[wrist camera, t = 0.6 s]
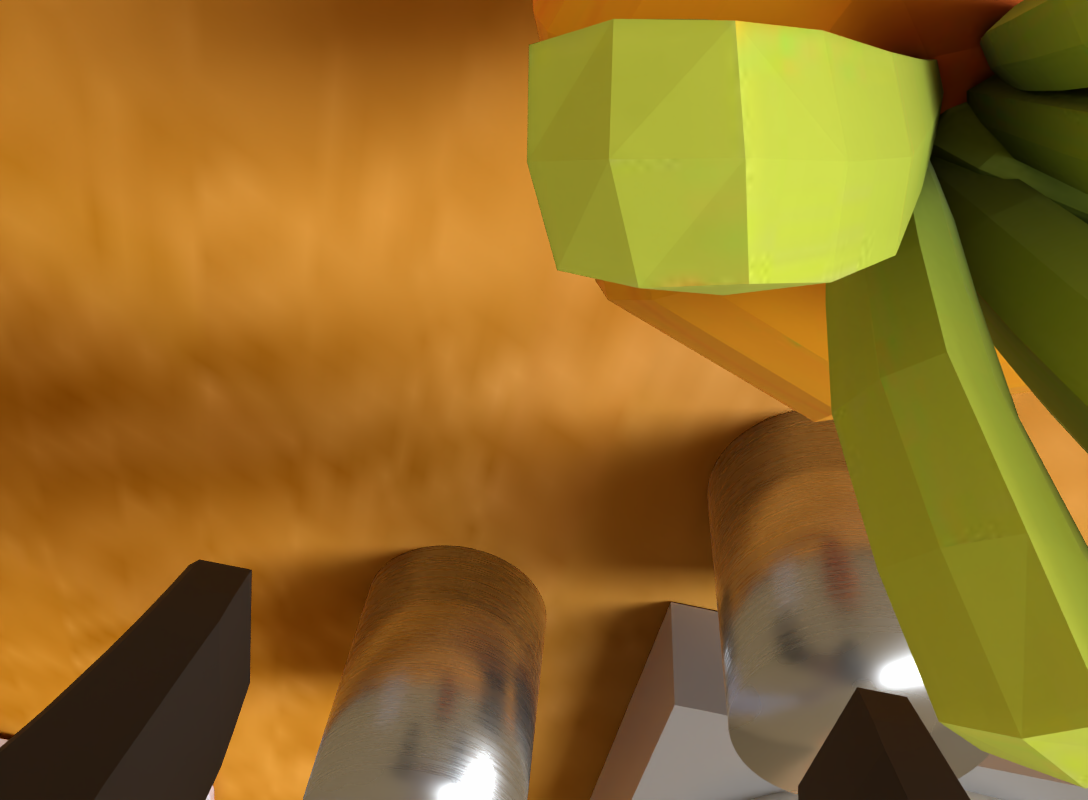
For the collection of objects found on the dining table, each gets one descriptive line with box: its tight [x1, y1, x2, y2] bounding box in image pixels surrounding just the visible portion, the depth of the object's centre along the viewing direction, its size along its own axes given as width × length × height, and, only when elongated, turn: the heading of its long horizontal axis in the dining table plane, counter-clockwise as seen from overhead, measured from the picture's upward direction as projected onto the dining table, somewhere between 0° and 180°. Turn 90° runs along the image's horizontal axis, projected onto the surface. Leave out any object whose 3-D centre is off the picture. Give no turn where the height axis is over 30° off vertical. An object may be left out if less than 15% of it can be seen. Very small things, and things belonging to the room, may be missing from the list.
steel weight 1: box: [303, 546, 546, 800], centre depth 21 cm, size 4×4×6 cm
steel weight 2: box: [707, 411, 990, 795], centre depth 18 cm, size 4×4×6 cm
